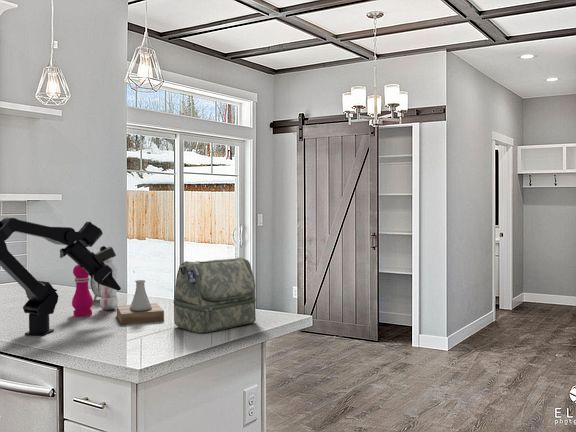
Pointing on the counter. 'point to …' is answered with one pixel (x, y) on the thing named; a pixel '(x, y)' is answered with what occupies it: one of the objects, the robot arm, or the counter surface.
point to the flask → (140, 298)
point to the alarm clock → (95, 288)
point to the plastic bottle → (109, 290)
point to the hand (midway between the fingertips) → (117, 287)
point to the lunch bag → (214, 295)
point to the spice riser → (140, 314)
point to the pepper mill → (81, 293)
